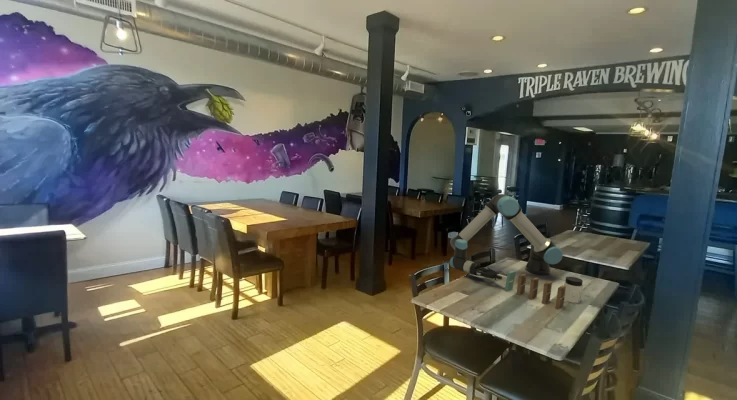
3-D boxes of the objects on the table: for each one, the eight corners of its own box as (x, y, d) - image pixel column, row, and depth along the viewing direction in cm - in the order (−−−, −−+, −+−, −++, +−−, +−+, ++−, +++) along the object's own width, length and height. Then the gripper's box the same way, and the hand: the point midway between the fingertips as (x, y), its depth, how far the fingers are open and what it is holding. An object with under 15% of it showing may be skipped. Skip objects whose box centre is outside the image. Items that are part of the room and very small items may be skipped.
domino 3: (546, 300, 198) (548, 281, 197) (549, 301, 197) (552, 282, 195) (541, 303, 194) (543, 283, 193) (544, 304, 193) (547, 284, 191)
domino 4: (559, 305, 193) (562, 285, 192) (563, 306, 192) (566, 286, 190) (555, 307, 189) (557, 287, 188) (558, 309, 188) (561, 288, 186)
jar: (563, 301, 198) (566, 280, 197) (560, 295, 206) (563, 275, 204) (582, 304, 196) (585, 282, 194) (578, 298, 203) (581, 277, 202)
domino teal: (509, 288, 214) (512, 270, 212) (512, 289, 213) (515, 271, 211) (504, 290, 210) (507, 272, 208) (507, 291, 209) (510, 273, 207)
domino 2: (533, 296, 204) (535, 277, 202) (536, 297, 202) (539, 278, 201) (528, 298, 200) (530, 279, 198) (531, 299, 198) (534, 280, 197)
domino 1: (521, 292, 209) (523, 273, 207) (524, 293, 207) (526, 274, 206) (516, 294, 205) (518, 275, 203) (519, 295, 203) (521, 276, 202)
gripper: (477, 272, 233) (512, 283, 216) (465, 275, 225) (501, 288, 207) (478, 260, 232) (514, 271, 215) (467, 264, 224) (502, 275, 206)
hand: (507, 279), depth 211 cm, fingers closed
